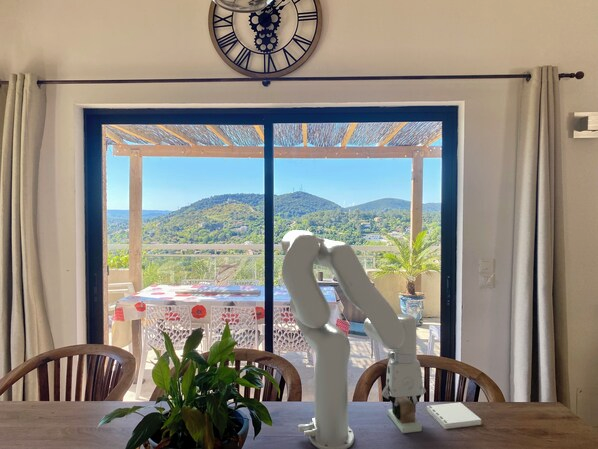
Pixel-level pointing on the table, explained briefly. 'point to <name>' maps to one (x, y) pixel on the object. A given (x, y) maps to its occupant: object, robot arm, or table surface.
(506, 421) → the table surface
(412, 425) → the stub
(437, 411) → the white flat slab
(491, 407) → the table surface
